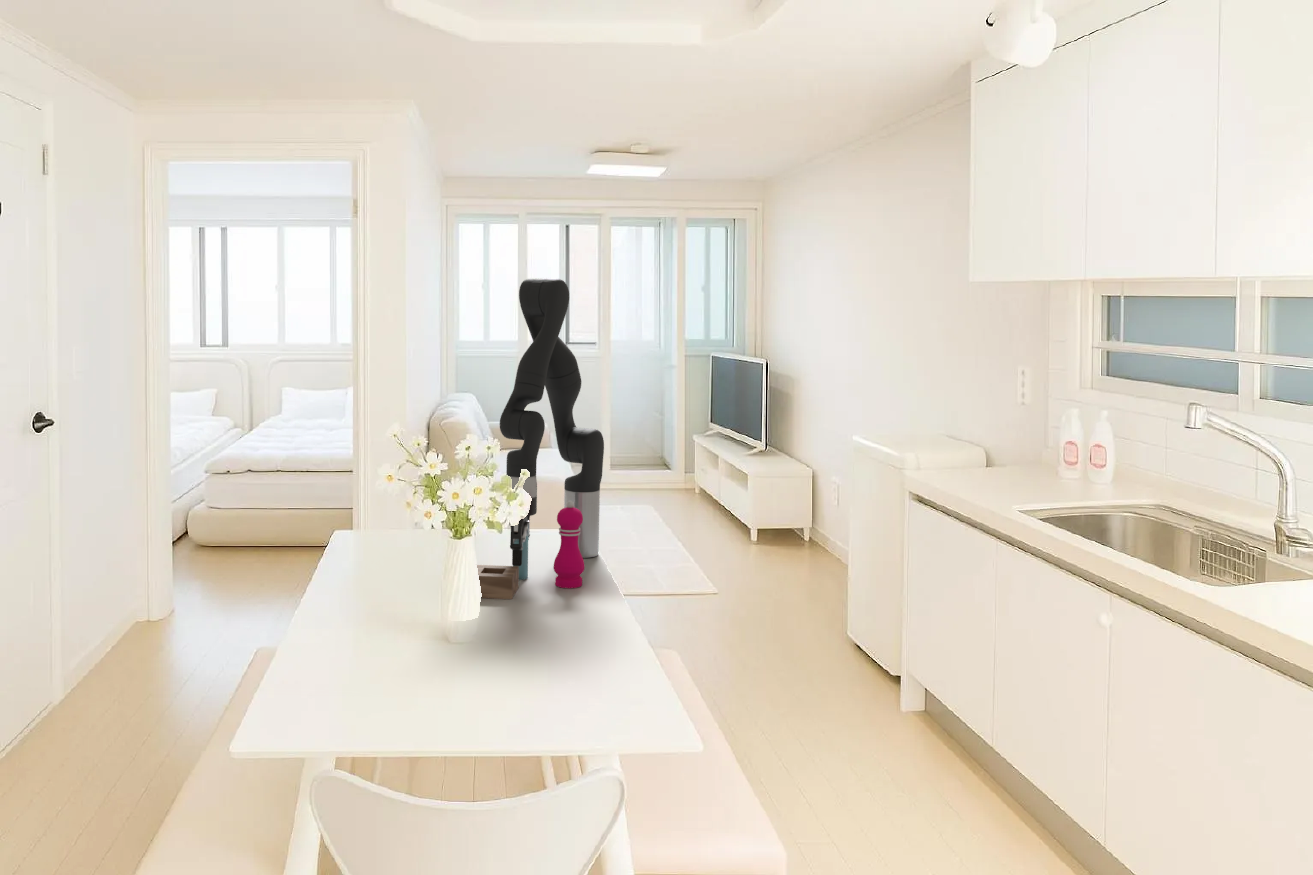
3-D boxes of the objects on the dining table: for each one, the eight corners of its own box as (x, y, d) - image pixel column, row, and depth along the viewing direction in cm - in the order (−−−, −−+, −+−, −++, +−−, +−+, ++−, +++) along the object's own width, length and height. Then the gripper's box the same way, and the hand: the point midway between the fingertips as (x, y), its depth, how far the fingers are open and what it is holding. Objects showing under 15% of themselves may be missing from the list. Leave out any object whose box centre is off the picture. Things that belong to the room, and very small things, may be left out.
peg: (513, 575, 263) (514, 534, 262) (528, 576, 263) (529, 535, 262) (511, 579, 260) (511, 537, 258) (526, 579, 260) (527, 538, 258)
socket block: (475, 585, 253) (475, 564, 252) (518, 587, 252) (518, 566, 252) (466, 597, 243) (466, 575, 242) (511, 599, 242) (511, 577, 242)
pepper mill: (586, 581, 259) (588, 498, 257) (581, 589, 252) (583, 504, 249) (556, 580, 260) (557, 497, 257) (550, 588, 253) (551, 502, 250)
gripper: (510, 488, 266) (508, 554, 268) (500, 498, 252) (498, 567, 254) (540, 489, 266) (539, 555, 268) (532, 499, 252) (531, 569, 254)
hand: (519, 561), depth 261 cm, fingers open, 8 cm apart
